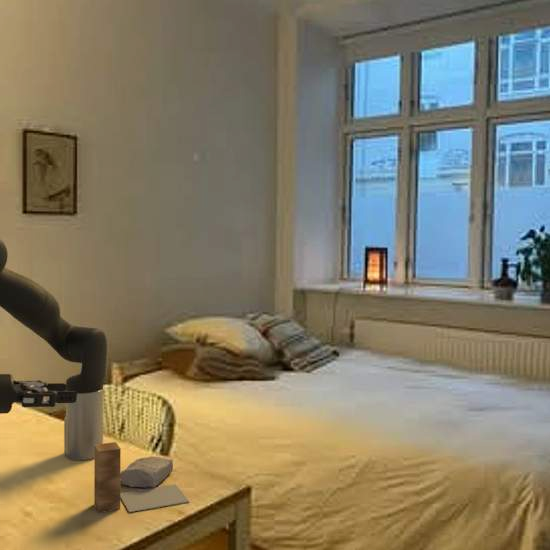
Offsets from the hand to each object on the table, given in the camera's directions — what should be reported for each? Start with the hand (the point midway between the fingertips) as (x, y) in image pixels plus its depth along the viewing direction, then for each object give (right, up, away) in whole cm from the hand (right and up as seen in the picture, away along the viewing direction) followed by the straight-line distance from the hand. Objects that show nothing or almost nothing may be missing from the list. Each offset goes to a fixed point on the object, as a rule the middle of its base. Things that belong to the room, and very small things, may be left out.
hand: (70, 392), depth 129 cm
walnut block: (+6, -25, +5) cm, 26 cm away
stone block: (+11, -24, +21) cm, 34 cm away
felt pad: (+15, -25, +10) cm, 31 cm away
